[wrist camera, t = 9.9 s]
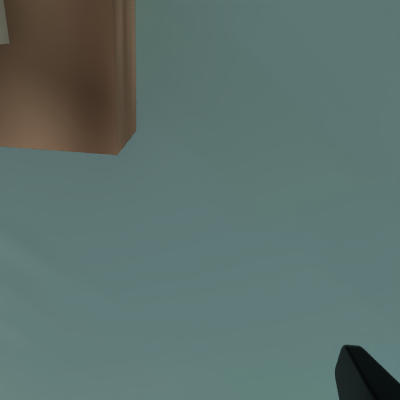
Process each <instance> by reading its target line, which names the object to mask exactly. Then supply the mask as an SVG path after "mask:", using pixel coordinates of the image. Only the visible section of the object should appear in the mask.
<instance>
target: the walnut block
mask: <svg viewBox="0 0 400 400" xmlns="http://www.w3.org/2000/svg"><path fill="white" fill-rule="evenodd" d="M3 1H4V8H5V15H6V22H7V29H8V36H9V43H10V44H0V146H5V147H18V148H32V149H45V150H58V151H72V152H85V153H99V154H112V155H118V153H119V152H120V151H121V150H122V148H123V147H124V146H125V144H126V143H127V142H128V141H129V139H130V138H131V137H132V135H133V134H134V133H135V131H136V60H135V0H3Z"/></svg>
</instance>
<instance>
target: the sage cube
mask: <svg viewBox="0 0 400 400" xmlns="http://www.w3.org/2000/svg"><path fill="white" fill-rule="evenodd" d="M0 44H10V43H9V36H8V29H7V22H6V15H5V8H4V1H3V0H0Z"/></svg>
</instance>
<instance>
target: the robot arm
mask: <svg viewBox="0 0 400 400" xmlns="http://www.w3.org/2000/svg"><path fill="white" fill-rule="evenodd" d="M335 379H336V384H337V390H338V395H339V400H400V383H399V382H398V381H397V380H396V379H395V378H394V377H392V376H391V375H390V374H389V373H388V372H387V371H386V370H385V369H384V368H383V367H382V366H381V365H380V364H379V363H378V362H377V361H376V360H375V359H374V358H373V357H372V356H371V355H370V354H369V353H368V352H367V351H365V350H364V349H363V348H362V347H360V346H356V345H344V346H343V347H342V348H341V351H340V354H339V358H338V361H337V364H336V368H335Z"/></svg>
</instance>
